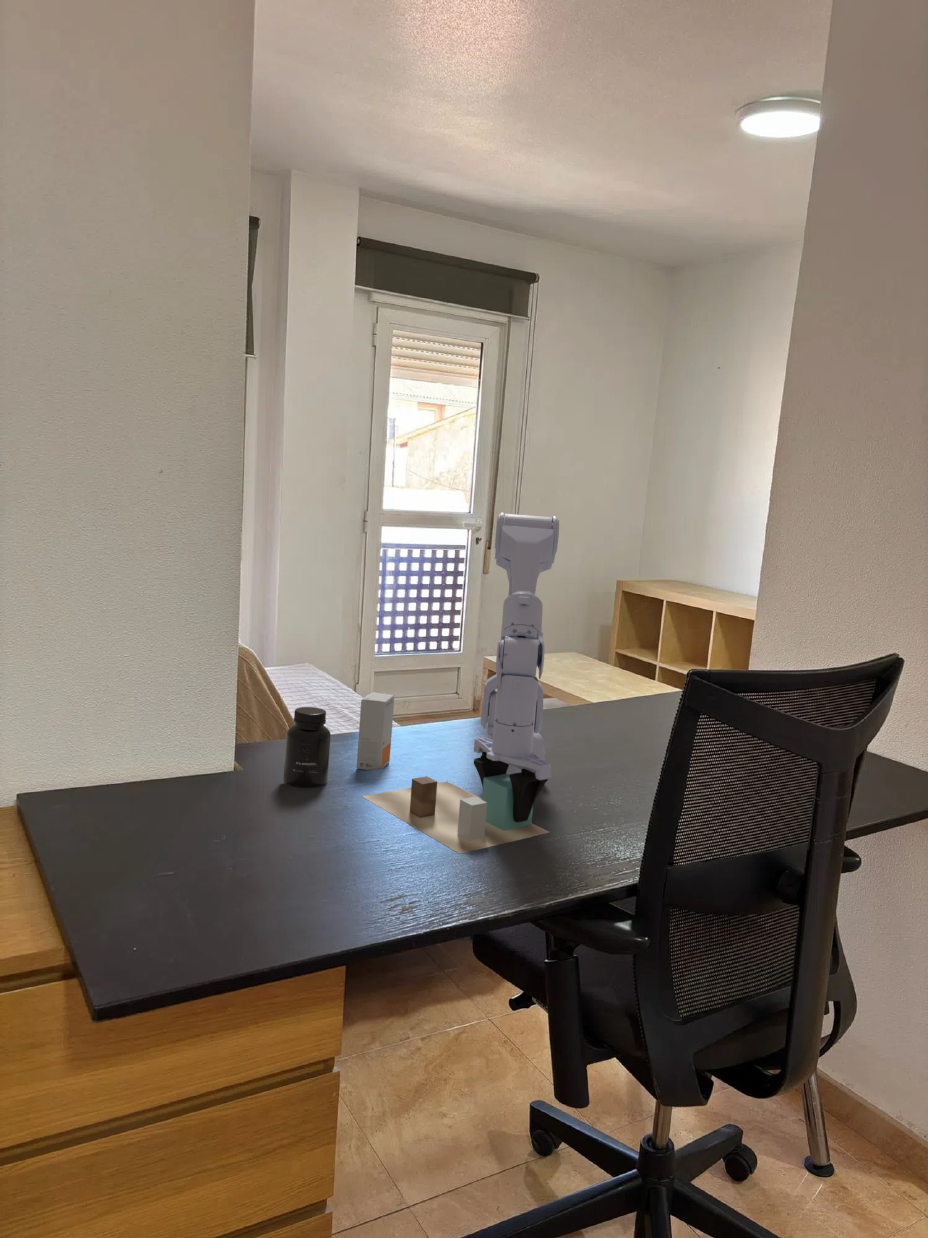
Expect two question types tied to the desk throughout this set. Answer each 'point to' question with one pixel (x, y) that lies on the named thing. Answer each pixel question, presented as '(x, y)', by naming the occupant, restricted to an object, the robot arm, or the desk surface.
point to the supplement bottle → (307, 749)
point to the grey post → (472, 818)
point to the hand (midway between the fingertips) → (506, 813)
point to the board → (448, 819)
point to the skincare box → (375, 731)
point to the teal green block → (501, 802)
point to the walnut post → (423, 797)
